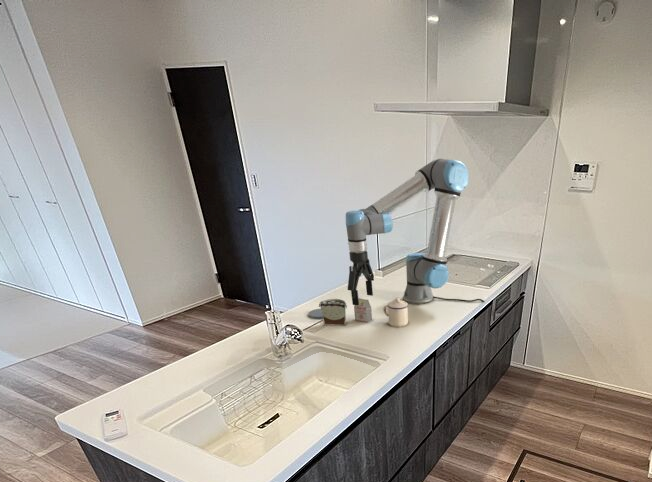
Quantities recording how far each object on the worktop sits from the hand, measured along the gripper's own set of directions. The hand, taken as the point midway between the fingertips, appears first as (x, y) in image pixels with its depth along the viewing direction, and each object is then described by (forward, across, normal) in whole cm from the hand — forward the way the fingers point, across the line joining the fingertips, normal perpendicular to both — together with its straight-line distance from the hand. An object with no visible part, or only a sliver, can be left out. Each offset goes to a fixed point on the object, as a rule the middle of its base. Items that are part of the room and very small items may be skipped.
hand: (363, 299), depth 192 cm
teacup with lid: (+10, -2, +15) cm, 18 cm away
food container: (+9, +8, -10) cm, 16 cm away
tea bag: (+10, 0, 0) cm, 10 cm away
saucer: (+9, +2, -22) cm, 24 cm away
